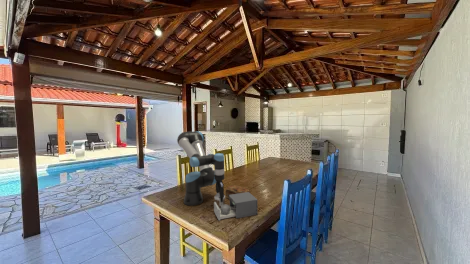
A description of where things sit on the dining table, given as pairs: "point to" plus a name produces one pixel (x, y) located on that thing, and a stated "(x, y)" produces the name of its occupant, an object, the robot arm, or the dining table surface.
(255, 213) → the grey drawer cabinet
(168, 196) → the dining table surface
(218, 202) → the riser cube
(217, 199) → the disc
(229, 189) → the bread
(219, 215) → the grey drawer
